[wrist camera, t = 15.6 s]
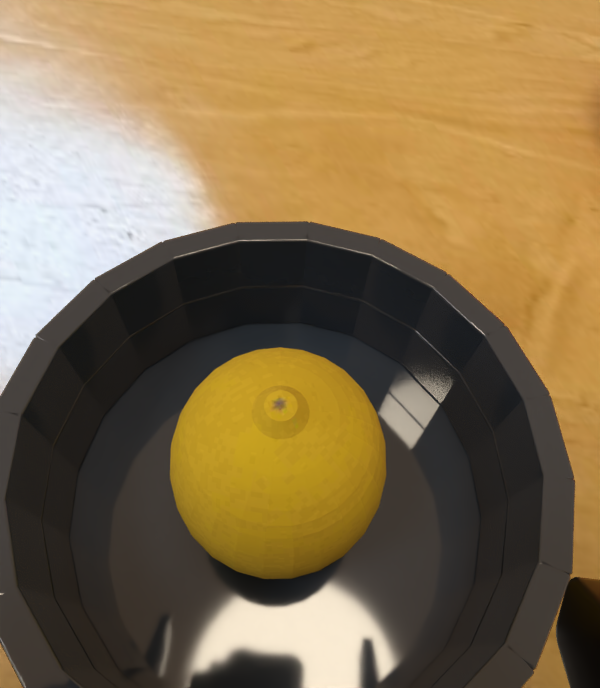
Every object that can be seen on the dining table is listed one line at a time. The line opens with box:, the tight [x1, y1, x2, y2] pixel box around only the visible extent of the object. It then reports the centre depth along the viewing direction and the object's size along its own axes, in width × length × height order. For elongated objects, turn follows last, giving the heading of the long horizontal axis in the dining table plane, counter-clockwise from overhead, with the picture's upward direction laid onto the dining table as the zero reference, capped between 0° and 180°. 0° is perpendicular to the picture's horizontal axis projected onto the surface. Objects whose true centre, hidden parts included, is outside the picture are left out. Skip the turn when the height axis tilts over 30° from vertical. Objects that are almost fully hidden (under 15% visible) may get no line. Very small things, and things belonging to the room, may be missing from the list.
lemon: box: [170, 347, 386, 579], centre depth 15 cm, size 6×6×8 cm
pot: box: [0, 221, 575, 688], centre depth 17 cm, size 15×15×6 cm
